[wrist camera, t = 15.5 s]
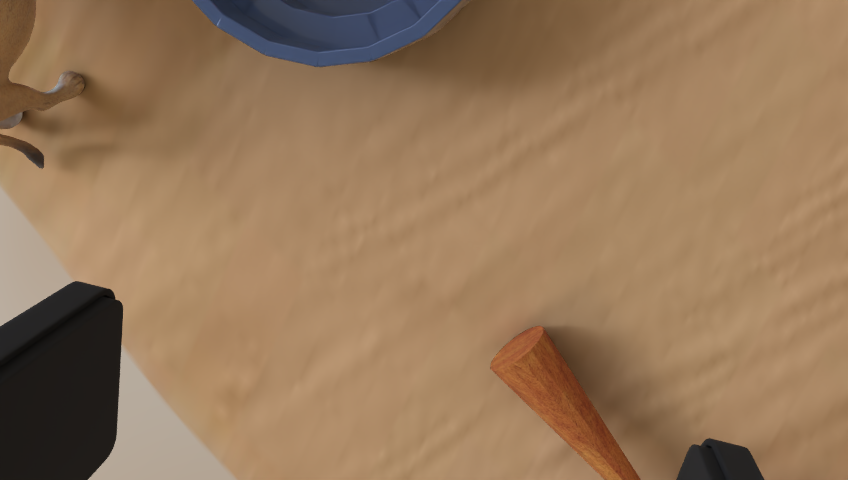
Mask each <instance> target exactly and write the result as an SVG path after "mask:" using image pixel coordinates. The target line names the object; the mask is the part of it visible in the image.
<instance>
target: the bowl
mask: <svg viewBox="0 0 848 480" xmlns="http://www.w3.org/2000/svg"><path fill="white" fill-rule="evenodd" d="M192 1H193V2H194V3H195V4H196V5H197V6H198V7H199V9H200V10H201V11H202V12H203V13H204V14H205V15H206V16H207V17H208V18H209V19H210V20H211V21H212V23H213V24H214V25H216V26H217V27H218V28H219V29H221V30H223V31H224V32H226V33H228V34H230V35H231V36H233V37H235V38H236V39H238V40H240V41H241V42H243V43H245V44H247V45H248V46H250V47H252V48H253V49H255V50H257V51H258V52H260V53H262V54H264V55H266V56H270V57H274V58H279V59H283V60H288V61H292V62H296V63H301V64H305V65H310V66H314V67H326V66H335V65H345V64H354V63H363V62H371V61H375V60H377V59H380V58H383V57H385V56H388V55H391V54H393V53H395V52H398V51H400V50H402V49H404V48H406V47H408V46H410V45H412V44H414V43H417V42H419V41H421V40H423V39H425V38H427V37H429V36H431V35H433V34H435V33H436V32H438V31H439V30H440V29H441V28H442V27H443V26H444V25H445V24H446V23H447V22H449V21H450V20H451V19H452V18H453V17H454V16H455V15H456V14H457V13H458V12H459V11H460V10H461V9H462V8H463V7H464V6H465V5H466V4H467V3H468V2H470V1H471V0H192Z"/></svg>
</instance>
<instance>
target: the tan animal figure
mask: <svg viewBox="0 0 848 480" xmlns="http://www.w3.org/2000/svg"><path fill="white" fill-rule="evenodd" d="M35 16H36V0H0V129H9V128H12V127H14V126H16V125H17V124H18V123H19V122H20V121H21V119H22V114H23V111H26V110H29V109H34V110H38V111H45V110H47V109H49V108H51V107H53V106H54V105H56V104H58V103H60V102H62V101H65V100H68V99H71V98H73V97H76V96H77V95H79V94H80V93H81V92H82V91H83V89H84V86H85V84H84V80H83V78H82V77H81V76H80V75H79V74H77V73H74V72H72V71H66V72H64V73H62V74H61V76H60V78H59V81H58V84H57V85H56V87H55V88H53V89H52V90H50V91H47V92H39V91H37V90H35V89H33V88H30V87H28V86H25V85H21V84H16V83H12V82H10V80H9V79H8V75H9V71H10V69H11V67H12V66H13V64H14V63H15V62H16V61H17V59H18V58H19V56H20V55H21V54H22V52H23V50H24V49H25V47H26V45H27V44H28V42H29V40H30V36H31V33H32V30H33V27H34V22H35ZM0 145H4V146H9V147H12V148H15V149H17V150H19V151H21V152H22V153H24V154H25V155H26V156H27V158H28V159H29V160H31V161H32V162H33V163H35V164H36V165H37V166H38V167H39V168H44V156H43V154H42V153H41V152H40V151H39V150H38V149H37V148H35V147H34V146H32V145H31V144H29V143H27V142H25V141H22V140H19V139H16V138H13V137H10V136H6V135H1V134H0Z"/></svg>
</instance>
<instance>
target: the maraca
mask: <svg viewBox="0 0 848 480" xmlns="http://www.w3.org/2000/svg"><path fill="white" fill-rule="evenodd" d="M490 369H491V370H492V371H493V372H495V373H496V374H497V375H498V376H499V377H500V378H501V379H502V380H503V381H504V382H505V383H506V384H507V385H508V386H509V387H510V388H511V389H512V390H513V391H514V392H515V393H516V394H517V395H518V396H519V397H520V398H521V399H522V400H523V401H524V402H525V403H526V404H528V405H529V406H530V407H531V408H532V409H533V410H534V411H535V412H536V413H537V414H538V415H539V416H540V417H541V418H542V419H543V420H544V421H545V422H546V423H547V424H548V425H549V426H550V427H551V428H552V429H553V430H554V431H555V432H556V433H557V434H558V435H559V436H561V437H562V438H563V439H564V440H565V441H566V442H567V443H568V444H569V445H570V446H571V447H572V448H573V449H574V450H575V451H576V452H577V453H578V454H579V455H580V456H581V457H582V458H583V459H584V460H585V461H586V462H587V463H588V464H589V465H590V466H591V467H592V468H593V469H595V470H596V471H597V472H598V473H599V474H600V475H601V476H602V477H603V478H604V479H605V480H640V478H639V476H638V475H637V473H636V472H635V470H634V469H633V467H632V465H631V464H630V462H629V461H628V459H627V458H626V456H625V455H624V453H623V451H622V450H621V448H620V447H619V445H618V444H617V442H616V441H615V439H614V437H613V436H612V434H611V433H610V431H609V430H608V428H607V426H606V425H605V423H604V422H603V420H602V419H601V417H600V416H599V414H598V412H597V411H596V409H595V408H594V406H593V405H592V403H591V401H590V400H589V398H588V397H587V395H586V394H585V392H584V391H583V389H582V387H581V386H580V384H579V383H578V381H577V380H576V378H575V376H574V375H573V373H572V372H571V370H570V369H569V367H568V366H567V364H566V362H565V361H564V359H563V358H562V356H561V355H560V353H559V351H558V350H557V348H556V347H555V345H554V344H553V342H552V341H551V339H550V337H549V336H548V334H547V333H546V331H545V330H544V328H543V327H541V326H536V327H532V328H530V329H528V330H526V331H524V332H522V333H521V334H519V335H518V336H516V337H515V338H513V339H512V340H511V341H510V342H509V343H508V344H506V345H505V346H504V347H503V348H502V349H501V350H500V351H499V353H498V354H497V355H496V356H495V358H494V359H493V361H492V362H491V367H490Z"/></svg>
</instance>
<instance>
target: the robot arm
mask: <svg viewBox="0 0 848 480" xmlns="http://www.w3.org/2000/svg"><path fill="white" fill-rule="evenodd" d="M122 321H123V306H122V303H121V302H120V301H119V300H115V295H114V293H113V291H112V290H111V289H107V288H103V287H99V286H95V285H91V284H87V283H83V282H78V281H75V282H72V283H70V284H69V285H67V286H65V287H64V288H62V289H60V290H59V291H57V292H56V293H54V294H52V295H51V296H49V297H47V298H46V299H44V300H43V301H41V302H39V303H38V304H36V305H34V306H33V307H31V308H30V309H28V310H26V311H25V312H23V313H21V314H20V315H18V316H17V317H15V318H13V319H12V320H10V321H9V322H7V323H5V324H4V325H2V326H0V480H88V479H89V478H90V477H91V475H92V474H93V473H94V472H95V471H96V470H97V469H98V468H99V467H100V466H101V464H102V463H103V462H104V461H105V460H106V459H107V457H108V456H109V455H110V453H111V451H112V449H113V447H114V444H115V441H116V435H117V416H118V415H117V414H118V397H119V378H120V357H121V340H122ZM676 480H764V478H763V476H762V474H761V472H760V471H759V469H758V467H757V465H756V463H755V461H754V459H753V457H752V455H751V453H750V451H749V450H748V449H747V448H745V447H742V446H738V445H734V444H730V443H726V442H722V441H718V440H714V439H710V438H709V439H706V440H705V441H704V442H703V443H702V445H701V446H699V445H695V444H694V445H692V446H691V447H690V448H689V450H688V452H687V454H686V457H685V459H684V462H683V464H682V467H681V469H680V472H679V474H678V477H677V479H676Z"/></svg>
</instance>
